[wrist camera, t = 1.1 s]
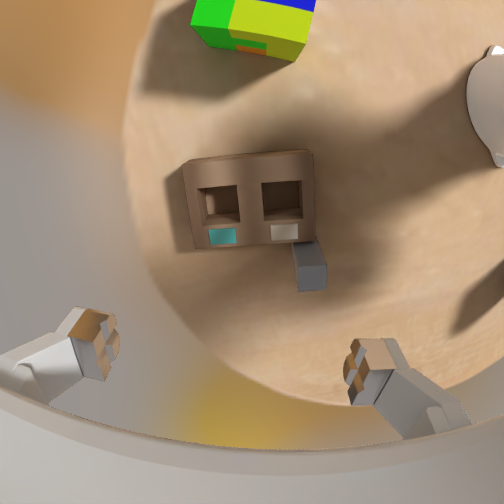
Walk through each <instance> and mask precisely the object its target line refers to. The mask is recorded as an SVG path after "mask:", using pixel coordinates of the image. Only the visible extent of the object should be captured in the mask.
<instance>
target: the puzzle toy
mask: <svg viewBox="0 0 504 504" xmlns="http://www.w3.org/2000/svg"><path fill="white" fill-rule="evenodd" d="M315 3H316V0H197V2H196V5H195V9H194V12H193V16H192V20H191V23H190V26H191V27H192V28H193V29H194V30H195V31H196V32H197V33H198V34H199V36H200V37H201V38H202V39H203V40H204V41H205V42H206V44H207V45H208V46H209V47H216V48H223V49H231V50H237V51H243V52H249V53H255V54H260V55H265V56H270V57H275V58H280V59H284V60H289V61H293V62H295V61H296V59H297V57H298V56H299V54H300V53H301V51H302V49H303V48H304V46H305V45H306V42H307V37H308V33H309V29H310V24H311V20H312V16H313V11H314V7H315Z"/></svg>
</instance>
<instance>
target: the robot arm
mask: <svg viewBox="0 0 504 504" xmlns="http://www.w3.org/2000/svg"><path fill="white" fill-rule="evenodd" d="M467 105H468V111H469V115H470V118H471V121H472V124H473V126H474V129H475V131H476V132H477V134H478V136H479V137H480V139H481V140H482V141H483V143H484V144H485V145H486V146H487V147H488V149H489V150H490V152H491V155H492V158H493V161H494V163H495V165H496V166H497V167H501V168H504V49H503V48H501V47H499V46H495V45H493V46H491V47H490V48H489V51H488V53H487V55H486V57H485V58H484V59H482V60H480V61H479V62H478V63H476V64H475V66H474V67H473V69H472V70H471V72H470V75H469V78H468V83H467ZM115 326H116V319H115V316H114V315H113V314H110V313H106V312H101V311H96V310H92V309H87V308H82V307H78V306H76V307H74V308H73V309H72V310H71V311H70V313H69V314H68V315H67V316H66V318H65V319H64V320H63V322H62V323H61V324H60V326H59V327H58V328H57V329H56V331H55V332H54V333H52V332H50V333H47V334H45V335H43V336H41V337H39V338H36V339H35V340H32V341H30V342H28V343H26V344H23V345H21V346H19V347H17V348H15V349H13V350H10V351H8V352H6V353H4V354H2V355H0V504H504V414H503V415H500V416H497V417H494V418H491V419H488V420H485V421H482V422H479V423H475V424H471V422H470V420H469V418H468V416H467V414H466V412H465V410H464V408H463V406H462V404H461V402H460V401H459V400H458V399H457V398H455V397H454V396H452V395H451V394H449V393H448V392H447V391H445V390H444V389H442V388H441V387H440V386H438V385H437V384H435V383H434V382H432V381H431V380H430V379H428V378H427V377H425V376H424V375H423V374H421V373H420V372H418V371H417V370H415V369H414V368H412V369H410V367H409V365H408V363H407V361H406V359H405V357H404V355H403V353H402V351H401V349H400V347H399V345H398V343H397V341H396V340H395V339H394V338H381V339H354V340H353V342H352V344H351V347H350V348H351V351H352V353H350V354H349V355H348V356H347V357H346V359H345V362H344V367H343V377H344V380H345V382H346V383H347V384H348V385H349V386H350V387H349V389H348V395H349V399H350V402H351V406H363V405H374V408H376V410H378V412H379V413H380V414H381V415H382V416H383V417H384V418H385V419H386V420H387V421H388V422H389V423H390V424H391V425H392V426H393V427H394V429H396V431H397V432H398V433H399V434H400V435H401V436H402V437H403V440H402V441H395V442H389V443H382V444H374V445H366V446H356V447H344V448H330V449H303V450H277V449H250V448H236V447H225V446H215V445H206V444H198V443H191V442H185V441H178V440H171V439H167V438H161V437H156V436H151V435H146V434H141V433H137V432H132V431H128V430H124V429H120V428H117V427H113V426H109V425H105V424H102V423H98V422H95V421H92V420H88V419H85V418H82V417H79V416H76V415H72V414H70V413H67V412H64V411H61V410H58V409H56V408H53V407H50V406H49V404H48V403H49V402H51V401H52V400H53V399H55V398H56V397H58V396H59V395H60V394H62V393H63V392H64V391H66V390H67V389H68V388H70V387H71V386H73V385H74V384H75V383H77V382H78V381H79V380H81V379H82V378H83V377H87V378H92V379H96V380H100V381H105V380H106V377H107V375H108V373H109V371H110V369H111V366H110V362H111V361H113V360H115V359H116V356H117V354H118V350H119V335H118V333H117V331H116V330H115V329H114V327H115Z"/></svg>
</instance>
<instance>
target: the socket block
mask: <svg viewBox="0 0 504 504" xmlns="http://www.w3.org/2000/svg"><path fill="white" fill-rule="evenodd" d="M182 171H183V178H184V185H185V191H186V198H187V204H188V210H189V216H190V222H191V228H192V234H193V240H194V245H195V249H204V248H219V247H233V246H248V245H263V244H278V243H293V242H309V241H315V201H314V171H313V154H312V153H311V152H310V151H308V150H290V151H274V152H260V153H247V154H236V155H226V156H217V157H208V158H199V159H192V160H189V161H187V162H186V163H184V164H183V165H182ZM297 180H298V184H299V206H300V208H291V209H275V210H264V204H263V192H262V183H266V182H280V181H297ZM229 185H237V194H238V203H239V212H235V213H222V214H211V215H208V210H207V203H206V196H205V189H204V188H208V187H218V186H229Z"/></svg>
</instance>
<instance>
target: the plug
mask: <svg viewBox="0 0 504 504" xmlns="http://www.w3.org/2000/svg"><path fill="white" fill-rule="evenodd" d="M291 244H292V258H293V263H294V269H295V275H296V281H297V287H298V292H304V291H317V290H326V282H327V264H326V261H325V258H324V256H323V253H322V250H321V248H320V245H319V242H318V240H317V237H316V235H315V241H309V242H293V243H291Z"/></svg>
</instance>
